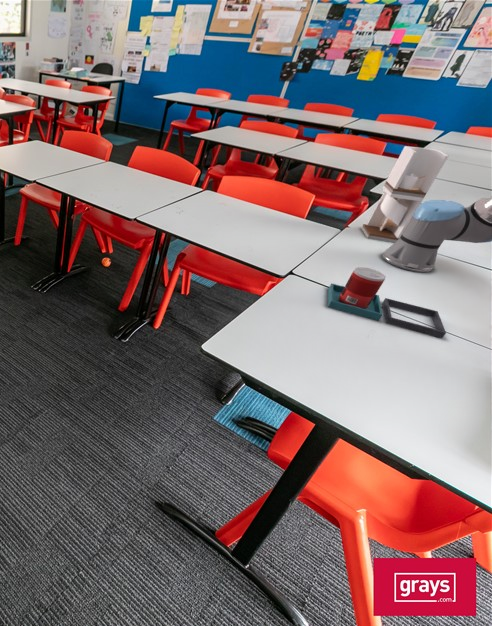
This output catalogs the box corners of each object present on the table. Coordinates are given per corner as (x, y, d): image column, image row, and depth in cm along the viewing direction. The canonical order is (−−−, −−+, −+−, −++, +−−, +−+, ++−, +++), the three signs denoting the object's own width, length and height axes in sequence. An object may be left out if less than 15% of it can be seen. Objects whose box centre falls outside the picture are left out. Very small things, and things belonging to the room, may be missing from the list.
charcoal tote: (382, 303, 134) (385, 297, 133) (433, 316, 129) (437, 311, 128) (385, 323, 125) (389, 317, 124) (441, 338, 119) (446, 332, 118)
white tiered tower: (361, 228, 187) (404, 146, 167) (389, 233, 183) (437, 149, 163) (367, 237, 178) (414, 152, 158) (397, 242, 175) (448, 156, 155)
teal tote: (328, 289, 140) (331, 283, 139) (375, 301, 135) (379, 295, 134) (327, 307, 131) (331, 300, 130) (378, 321, 125) (382, 314, 124)
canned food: (372, 311, 129) (391, 280, 123) (343, 308, 130) (361, 277, 124) (360, 298, 135) (378, 268, 129) (333, 295, 136) (350, 265, 130)
